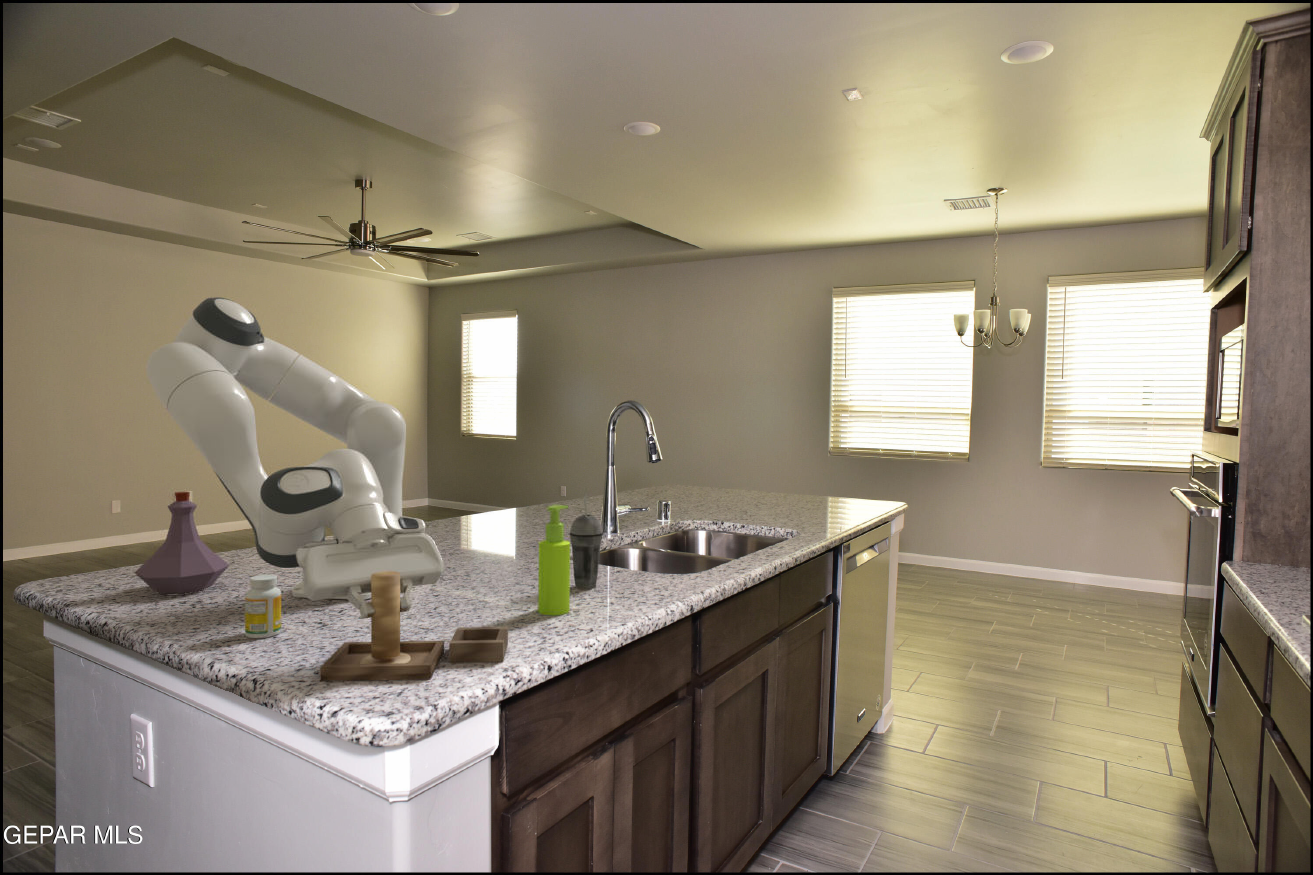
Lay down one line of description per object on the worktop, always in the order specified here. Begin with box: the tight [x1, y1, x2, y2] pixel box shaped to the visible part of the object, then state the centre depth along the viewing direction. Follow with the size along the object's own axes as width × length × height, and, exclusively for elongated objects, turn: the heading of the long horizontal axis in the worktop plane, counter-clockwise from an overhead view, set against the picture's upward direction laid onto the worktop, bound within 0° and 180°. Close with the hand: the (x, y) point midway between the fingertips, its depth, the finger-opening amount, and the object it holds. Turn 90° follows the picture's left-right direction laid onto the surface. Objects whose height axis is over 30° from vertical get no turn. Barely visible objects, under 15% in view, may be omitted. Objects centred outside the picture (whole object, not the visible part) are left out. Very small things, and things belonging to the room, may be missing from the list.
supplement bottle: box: [244, 574, 282, 639], centre depth 124 cm, size 5×5×10 cm
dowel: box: [370, 571, 401, 659], centre depth 109 cm, size 4×4×12 cm
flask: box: [134, 491, 230, 595], centre depth 152 cm, size 16×16×20 cm
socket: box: [448, 626, 509, 664], centre depth 116 cm, size 8×8×3 cm
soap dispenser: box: [537, 504, 571, 616], centre depth 141 cm, size 6×7×20 cm
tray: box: [319, 640, 445, 683], centre depth 110 cm, size 15×11×2 cm
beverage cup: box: [568, 494, 604, 590], centre depth 159 cm, size 7×7×20 cm
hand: (387, 612), depth 109 cm, fingers closed on dowel, 4 cm apart
